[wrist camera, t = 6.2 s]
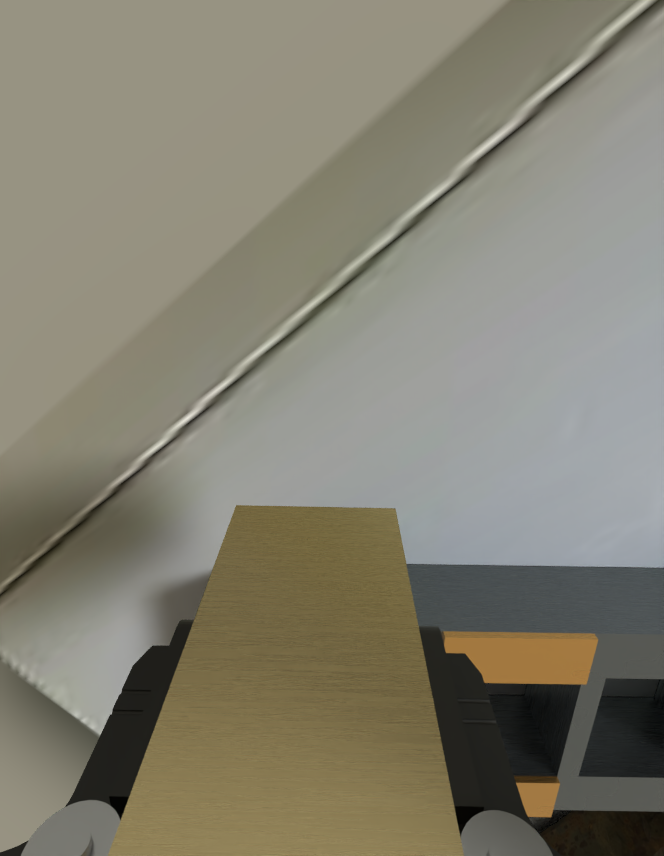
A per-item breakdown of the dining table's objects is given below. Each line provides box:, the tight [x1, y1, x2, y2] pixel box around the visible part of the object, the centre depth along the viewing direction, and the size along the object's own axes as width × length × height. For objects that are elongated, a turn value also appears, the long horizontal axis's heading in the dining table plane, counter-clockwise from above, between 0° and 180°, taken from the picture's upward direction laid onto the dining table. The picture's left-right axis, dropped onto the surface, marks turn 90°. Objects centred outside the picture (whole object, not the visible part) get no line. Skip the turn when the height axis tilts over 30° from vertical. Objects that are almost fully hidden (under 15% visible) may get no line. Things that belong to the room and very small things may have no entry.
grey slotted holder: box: [406, 564, 664, 817], centre depth 22 cm, size 10×22×4 cm, turn 89°
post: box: [108, 505, 464, 856], centre depth 9 cm, size 4×4×10 cm
